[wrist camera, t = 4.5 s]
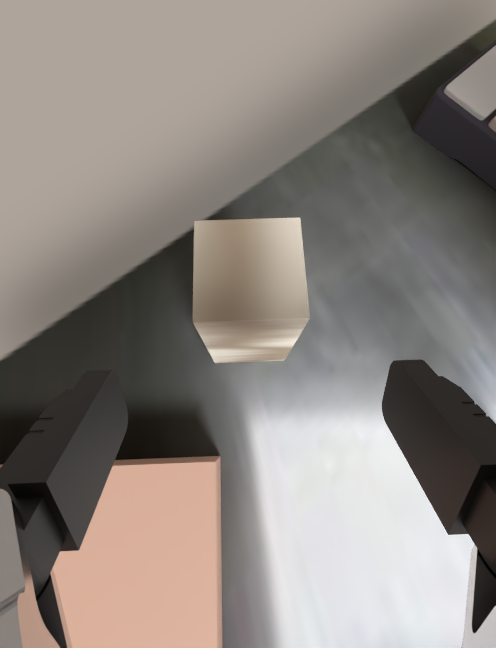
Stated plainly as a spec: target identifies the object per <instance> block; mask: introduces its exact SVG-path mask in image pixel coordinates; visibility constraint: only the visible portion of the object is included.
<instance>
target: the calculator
mask: <svg viewBox="0 0 496 648" xmlns="http://www.w3.org/2000/svg"><path fill="white" fill-rule="evenodd" d="M412 130H413V131H414V132H415V133H417V134H418V135H419V136H421V137H422V138H423V139H425V140H426V141H428V142H429V143H430V144H432V145H433V146H434V147H436V148H437V149H439V150H440V151H441V152H443V153H444V154H446V155H447V156H448V157H450V158H452V159H457V160H458V161H460V162H461V163H462V164H464V165H465V166H466V167H467V168H469V169H470V170H471V171H472V172H474V173H475V174H476V175H477V176H478V177H480V178H481V179H482V180H483V181H485V182H486V183H487V184H488V185H490V186H491V187H492V188H493V189H495V190H496V41H495V42H493V43H492V44H491V45H490V46H488V47H487V48H486V49H485V50H484V51H482V52H481V53H480V54H479V55H477V56H476V57H475V58H474V59H473V60H471V61H470V62H469V63H468V64H466V65H465V66H464V67H463V68H462V69H460V70H459V71H458V72H457V73H455V74H454V75H453V76H452V77H451V78H449V79H448V80H447V81H446V82H445V83H443V84H442V85H441V86H440V87H438V88H437V89H436V90H435V92H434V93H433V95H432V96H431V98H430V100H429V101H428V103H427V104H426V106H425V108H424V109H423V111H422V112H421V114H420V116H419V117H418V119H417V120H416V122H415V124H414V125H413V127H412Z"/></svg>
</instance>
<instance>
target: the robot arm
mask: <svg viewBox="0 0 496 648" xmlns="http://www.w3.org/2000/svg"><path fill="white" fill-rule="evenodd" d="M382 412H383V416H384V420H385V422H386V424H387V426H388V428H389V429H390V431H391V433H392V435H393V437H394V438H395V440H396V442H397V444H398V445H399V447H400V449H401V451H402V453H403V454H404V456H405V458H406V460H407V462H408V463H409V465H410V467H411V469H412V471H413V472H414V474H415V476H416V478H417V479H418V481H419V483H420V485H421V487H422V488H423V490H424V492H425V494H426V496H427V497H428V499H429V501H430V503H431V505H432V506H433V508H434V510H435V512H436V513H437V515H438V517H439V519H440V521H441V522H442V524H443V526H444V528H445V530H446V531H447V533H448V535H453V534H469V535H470V537H471V539H472V540H473V542H474V544H475V545H474V547H473V549H472V552H471V560H470V571H469V582H468V594H467V605H466V616H465V627H464V636H463V642H462V647H461V648H496V424H495V422H494V421H493V420H492V419H491V418H490V417H486V413H485V412H484V411H483V410H482V409H481V408H480V407H479V406H478V405H477V404H476V405H475V404H474V401H473V400H472V399H471V398H470V397H469V396H468V395H467V393H466V392H465V391H464V390H463V389H462V388H461V387H459V386H457V385H456V384H454V383H453V382H451V381H449V380H448V379H446V378H444V377H443V376H438V375H437V374H436V373H435V372H434V371H433V370H432V369H431V368H430V367H429V366H428V364H427V363H426V362H425V361H423V360H397V361H393V362H392V364H391V366H390V369H389V374H388V378H387V383H386V387H385V391H384V396H383V401H382ZM127 426H128V411H127V407H126V403H125V399H124V395H123V391H122V388H121V384H120V380H119V376H118V374H117V372H116V371H114V370H108V371H87V372H85V373H84V374H83V376H82V377H81V379H80V380H79V381H78V383H77V384H76V386H75V387H74V389H73V390H66V391H65V392H63V393H62V394H61V395H59V396H58V397H57V398H55V399H54V400H53V401H51V402H50V403H49V404H48V406H47V407H46V408H45V410H44V411H43V412H42V414H41V415H40V416H39V418H38V421H36V422H35V423H34V424H33V426H32V427H31V428H30V430H29V433H28V434H26V435H25V436H24V438H23V439H22V440H21V442H20V443H19V444H18V446H17V447H16V448H15V450H14V451H13V452H12V454H11V455H10V456H9V458H8V459H7V460H6V462H5V463H4V464H3V466H2V467H1V468H0V648H72V644H71V639H70V635H69V631H68V627H67V623H66V619H65V615H64V610H63V606H62V602H61V598H60V594H59V590H58V585H57V581H56V577H55V573H54V571H53V569H52V568H53V566H54V564H55V561H56V559H57V557H58V555H59V552H60V551H79V549H80V547H81V544H82V542H83V539H84V537H85V534H86V532H87V529H88V527H89V524H90V522H91V519H92V517H93V514H94V512H95V509H96V507H97V504H98V502H99V499H100V496H101V494H102V491H103V489H104V486H105V484H106V481H107V479H108V476H109V474H110V471H111V469H112V466H113V464H114V461H115V459H116V456H117V454H118V451H119V449H120V446H121V444H122V441H123V438H124V436H125V433H126V430H127Z"/></svg>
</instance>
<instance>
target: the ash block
mask: <svg viewBox="0 0 496 648" xmlns="http://www.w3.org/2000/svg"><path fill="white" fill-rule="evenodd" d="M309 319H310V314H309V304H308V293H307V283H306V273H305V263H304V253H303V242H302V232H301V222H300V218H271V219H237V220H204V221H194V265H193V324H194V325H195V327H196V329H197V331H198V333H199V335H200V337H201V338H202V340H203V342H204V344H205V346H206V348H207V349H208V351H209V353H210V355H211V357H212V359H213V361H214V362H215V363H227V362H255V361H283V360H285V359H286V357H287V355H288V354H289V352H290V350H291V349H292V347H293V345H294V344H295V342H296V340H297V339H298V337H299V335H300V334H301V332H302V330H303V329H304V327H305V325H306V324H307V322H308V320H309Z"/></svg>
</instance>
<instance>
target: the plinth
mask: <svg viewBox="0 0 496 648" xmlns="http://www.w3.org/2000/svg"><path fill="white" fill-rule="evenodd" d="M2 466H3V465H0V468H1V467H2ZM52 569H53V571H54V573H55V577H56V581H57V585H58V590H59V594H60V598H61V602H62V606H63V610H64V615H65V619H66V623H67V627H68V631H69V635H70V639H71V644H72V648H222V564H221V472H220V456H204V457H179V458H155V459H130V460H115V461H114V464H113V466H112V469H111V471H110V474H109V476H108V479H107V481H106V484H105V486H104V489H103V491H102V494H101V496H100V499H99V502H98V504H97V507H96V509H95V512H94V514H93V517H92V519H91V522H90V524H89V527H88V529H87V532H86V534H85V537H84V539H83V542H82V544H81V547H80V549H79V551H60V552H59V555H58V557H57V559H56V561H55V564H54V566H53V568H52Z"/></svg>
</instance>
